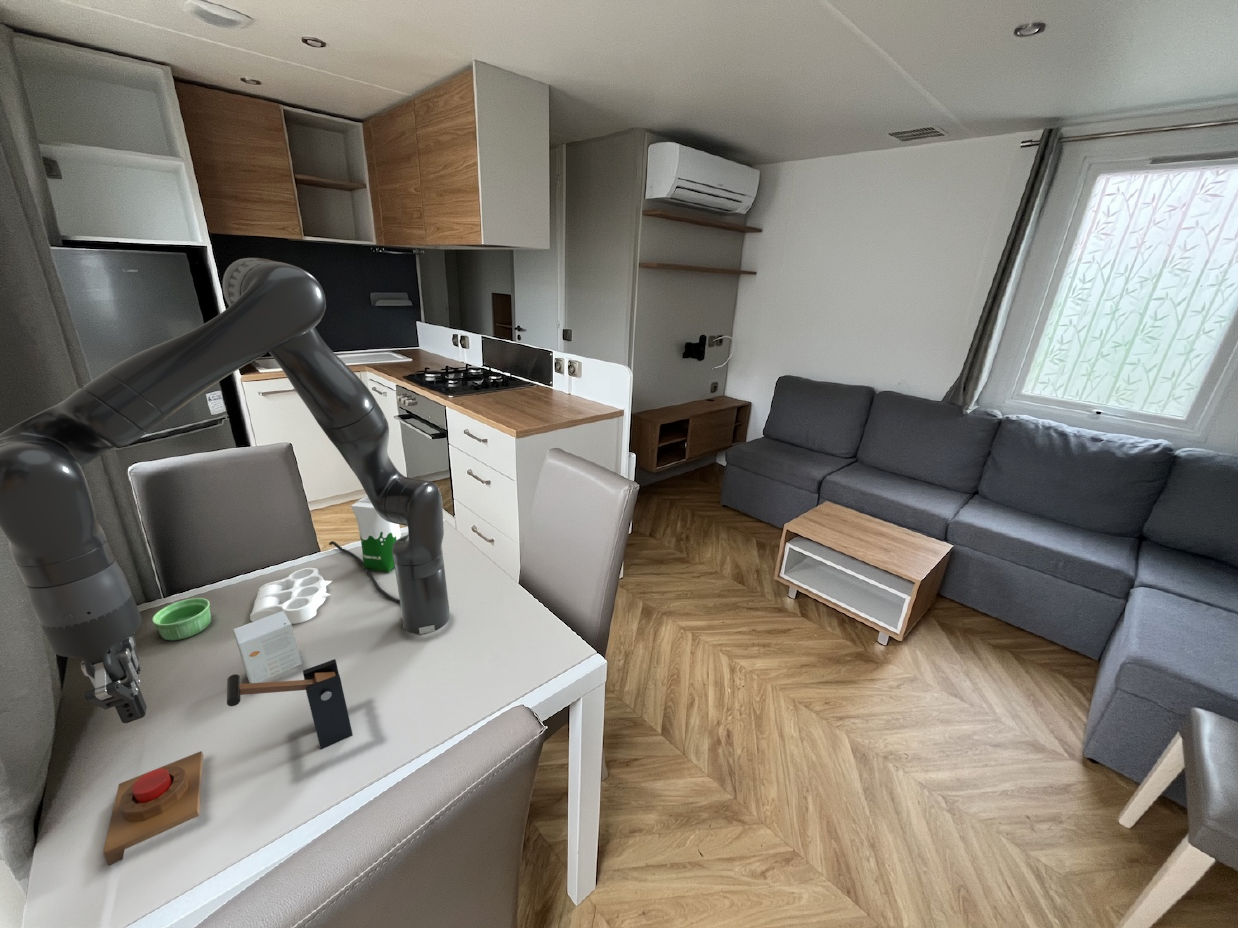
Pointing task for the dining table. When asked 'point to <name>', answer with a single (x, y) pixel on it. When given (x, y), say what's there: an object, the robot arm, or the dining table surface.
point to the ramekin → (183, 619)
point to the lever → (268, 686)
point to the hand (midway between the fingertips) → (135, 716)
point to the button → (151, 785)
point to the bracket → (328, 705)
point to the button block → (154, 808)
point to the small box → (267, 647)
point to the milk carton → (375, 536)
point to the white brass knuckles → (292, 596)
